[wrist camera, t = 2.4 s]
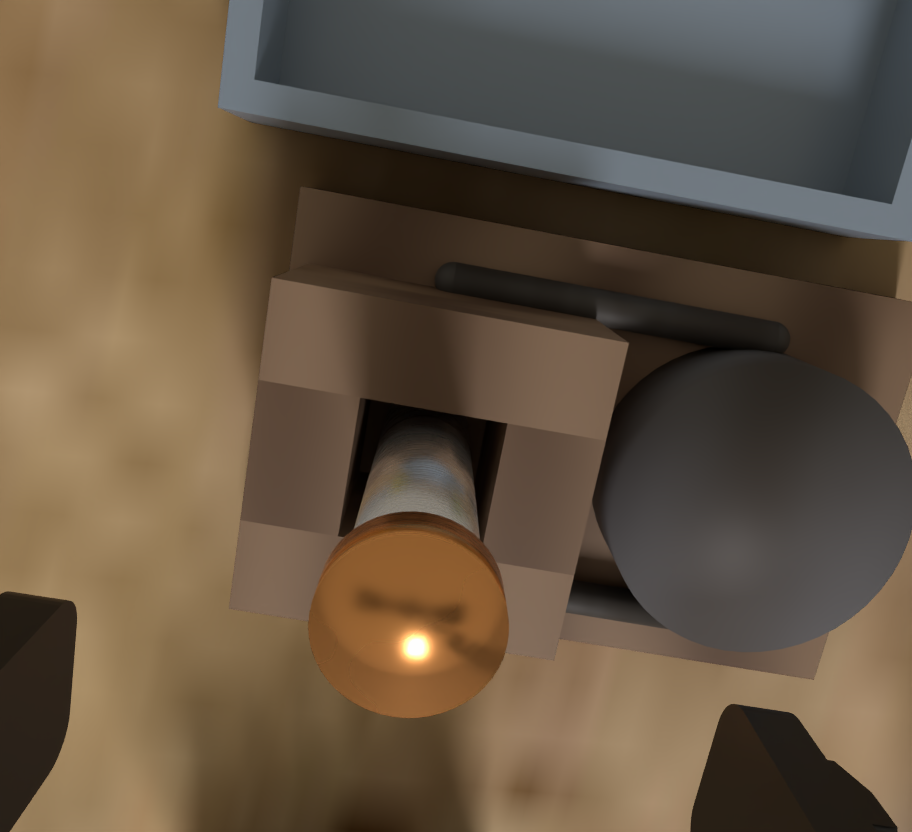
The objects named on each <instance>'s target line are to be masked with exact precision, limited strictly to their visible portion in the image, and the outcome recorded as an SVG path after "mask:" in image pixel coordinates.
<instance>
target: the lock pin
mask: <svg viewBox="0 0 912 832" xmlns="http://www.w3.org/2000/svg"><path fill="white" fill-rule="evenodd" d="M308 630H309V640H310V645H311V649H312V652H313V655H314V658H315V660H316V662H317V664H318V666H319V668H320V670H321V672H322V673H323V674H324V676H325V677H326V679H327V680H328V681H329V682H330V683H331V684H332V686H333V687H334V688H335V689H336V690H337V691H339V692H340V693H341V694H342V695H343V696H345V697H346V698H347V699H349V700H350V701H352V702H354V703H355V704H357V705H359V706H361V707H363V708H365V709H367V710H370V711H373V712H375V713H378V714H382V715H387V716H391V717H401V718H419V717H427V716H432V715H436V714H440V713H444V712H446V711H449V710H451V709H454V708H456V707H458V706H460V705H462V704H463V703H465V702H467V701H468V700H470V699H471V698H472V697H474V696H475V695H476V694H478V693H479V692H480V691H481V690H482V689H483V688H484V687H485V686H486V685H487V684H488V682H489V681H490V680H491V679H492V678H493V676H494V674H495V673H496V671H497V670H498V668H499V666H500V664H501V662H502V660H503V657H504V654H505V651H506V648H507V643H508V637H509V618H508V611H507V605H506V598H505V592H504V586H503V580H502V576H501V573H500V570H499V567H498V565H497V563H496V561H495V559H494V557H493V556H492V554H491V552H490V551H489V549H488V548H487V547H486V546H485V545H484V543H483V542H482V541H481V540H480V535H479V526H478V517H477V507H476V498H475V489H474V479H473V470H472V461H471V452H470V442H469V433H468V424H467V417H466V416H462V415H456V414H451V413H445V412H439V411H434V410H428V409H422V408H417V407H411V406H405V405H399V404H394V403H392V404H391V405H390V407H389V409H388V412H387V414H386V418H385V421H384V425H383V428H382V432H381V435H380V439H379V442H378V446H377V449H376V453H375V456H374V460H373V463H372V467H371V470H370V474H369V477H368V481H367V484H366V488H365V491H364V495H363V498H362V502H361V505H360V509H359V512H358V516H357V520H356V523H355V527H354V530H352V531H351V532H350V533H348V534H347V535H346V536H345V537H344V538H343V539H342V540H341V541H340V542H339V543H338V544H337V546H336V547H335V548H334V550H333V551H332V552H331V554H330V556H329V557H328V559H327V561H326V563H325V566H324V568H323V571H322V573H321V576H320V579H319V582H318V585H317V588H316V591H315V594H314V597H313V600H312V603H311V608H310V612H309V622H308Z"/></svg>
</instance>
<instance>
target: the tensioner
mask: <svg viewBox="0 0 912 832" xmlns="http://www.w3.org/2000/svg"><path fill="white" fill-rule="evenodd" d="M911 375H912V302H911V301H906V300H901V299H895V298H890V297H885V296H880V295H874V294H869V293H864V292H858V291H853V290H848V289H843V288H837V287H832V286H827V285H821V284H816V283H811V282H806V281H800V280H795V279H790V278H784V277H779V276H774V275H769V274H763V273H758V272H753V271H747V270H742V269H737V268H732V267H726V266H721V265H716V264H710V263H705V262H700V261H695V260H689V259H684V258H679V257H673V256H668V255H663V254H658V253H652V252H647V251H642V250H636V249H631V248H626V247H621V246H615V245H610V244H605V243H599V242H594V241H589V240H584V239H578V238H573V237H568V236H562V235H557V234H552V233H546V232H541V231H536V230H531V229H525V228H520V227H515V226H509V225H504V224H499V223H494V222H488V221H483V220H478V219H472V218H467V217H462V216H457V215H451V214H446V213H441V212H435V211H430V210H425V209H420V208H414V207H409V206H404V205H398V204H393V203H388V202H383V201H377V200H372V199H367V198H361V197H356V196H351V195H346V194H340V193H335V192H330V191H324V190H319V189H314V188H308V187H302V186H300V193H299V200H298V208H297V215H296V223H295V230H294V238H293V245H292V253H291V260H290V268H289V271H288V272H285V273H283V274H280V275H277V276H275V277H272V279H271V287H270V295H269V302H268V310H267V318H266V326H265V333H264V341H263V349H262V357H261V364H260V372H259V380H258V388H257V395H256V403H255V411H254V419H253V426H252V434H251V442H250V450H249V457H248V465H247V473H246V481H245V488H244V496H243V504H242V512H241V519H240V527H239V535H238V542H237V550H236V558H235V566H234V573H233V581H232V589H231V597H230V604H229V609H234V610H240V611H246V612H253V613H259V614H265V615H272V616H278V617H284V618H290V619H297V620H303V621H309V612H310V608H311V603H312V600H313V597H314V594H315V591H316V588H317V585H318V582H319V579H320V576H321V573H322V571H323V568H324V566H325V563H326V561H327V559H328V557H329V556H330V554H331V552H332V551H333V550H334V548H335V547H336V546H337V544H338V543H339V542H340V541H341V540H342V539H343V538H344V537H345V536H346V535H347V534H348V533H350V532H351V531H352V530H354V527H355V523H356V520H357V516H358V512H359V509H360V505H361V502H362V498H363V495H364V491H365V488H366V484H367V481H368V477H369V474H370V470H371V467H372V463H373V460H374V456H375V453H376V449H377V446H378V442H379V439H380V435H381V432H382V428H383V425H384V421H385V418H386V414H387V412H388V409H389V407H390V405H391V404H392V403H394V404H399V405H405V406H411V407H417V408H422V409H428V410H434V411H439V412H445V413H451V414H456V415H462V416H466V417H467V424H468V433H469V442H470V452H471V461H472V470H473V479H474V489H475V498H476V507H477V517H478V526H479V535H480V540H481V541H482V542H483V543H484V545H485V546H486V547H487V548H488V549H489V551H490V552H491V554H492V556H493V557H494V559H495V561H496V563H497V565H498V567H499V570H500V573H501V576H502V580H503V586H504V592H505V598H506V605H507V611H508V618H509V637H508V643H507V648H506V651H505V653H510V654H516V655H522V656H529V657H535V658H541V659H547V660H554V659H555V655H556V650H557V646H558V642H559V639H564V640H570V641H576V642H582V643H589V644H595V645H601V646H607V647H613V648H620V649H626V650H632V651H638V652H644V653H651V654H657V655H663V656H669V657H675V658H682V659H688V660H694V661H700V662H707V663H713V664H719V665H725V666H731V667H738V668H744V669H750V670H756V671H762V672H769V673H775V674H781V675H787V676H793V677H800V678H806V679H812V680H814V677H815V674H816V671H817V668H818V665H819V662H820V659H821V656H822V652H823V649H824V646H825V643H826V640H827V637H828V634H829V631H831V630H833V629H835V628H837V627H838V626H840V625H841V624H843V623H844V622H846V621H847V620H849V619H850V618H852V617H853V616H854V615H855V614H856V613H858V612H859V611H860V610H861V609H862V608H864V607H865V606H866V605H867V604H868V603H869V602H870V601H871V600H872V599H873V598H874V597H875V595H876V594H877V593H878V592H879V591H880V590H881V589H882V587H883V586H884V585H885V583H886V582H887V581H888V579H889V578H890V577H891V575H892V574H893V572H894V570H895V568H896V567H897V565H898V563H899V561H900V559H901V558H902V555H903V553H904V550H905V548H906V546H907V543H908V541H909V538H910V534H911V530H912V459H911V456H910V453H909V449H908V446H907V444H906V442H905V440H904V438H903V436H902V434H901V432H900V430H899V428H898V427H897V425H896V422H897V419H898V416H899V413H900V410H901V406H902V403H903V400H904V397H905V394H906V391H907V388H908V385H909V382H910V378H911Z"/></svg>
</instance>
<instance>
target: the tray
mask: <svg viewBox="0 0 912 832" xmlns="http://www.w3.org/2000/svg"><path fill="white" fill-rule="evenodd" d="M218 108H221V109H223V110H225V111H227V112H229V113H232V114H234V115H236V116H238V117H240V118H243V119H245V120H247V121H249V122H253V123H258V124H263V125H268V126H274V127H279V128H284V129H289V130H294V131H299V132H305V133H310V134H315V135H320V136H325V137H331V138H336V139H341V140H346V141H351V142H357V143H362V144H367V145H372V146H377V147H382V148H388V149H393V150H398V151H403V152H408V153H414V154H419V155H424V156H429V157H434V158H440V159H445V160H450V161H455V162H460V163H465V164H471V165H476V166H481V167H486V168H491V169H497V170H502V171H507V172H512V173H517V174H522V175H528V176H533V177H538V178H543V179H548V180H554V181H559V182H564V183H569V184H574V185H580V186H585V187H590V188H595V189H600V190H605V191H611V192H616V193H621V194H626V195H631V196H637V197H642V198H647V199H652V200H657V201H662V202H668V203H673V204H678V205H683V206H688V207H694V208H699V209H704V210H709V211H714V212H720V213H725V214H730V215H735V216H740V217H745V218H751V219H756V220H761V221H766V222H771V223H777V224H782V225H787V226H792V227H797V228H802V229H808V230H813V231H818V232H823V233H828V234H834V235H839V236H844V237H851V238H866V239H882V240H897V241H912V0H229V10H228V19H227V28H226V37H225V47H224V56H223V65H222V74H221V83H220V93H219V102H218Z"/></svg>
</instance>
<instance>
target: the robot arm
mask: <svg viewBox="0 0 912 832" xmlns="http://www.w3.org/2000/svg"><path fill="white" fill-rule="evenodd" d="M76 627H77V611H76V607H75V604H74V603H73V602H72V601H68V600H62V599H55V598H49V597H42V596H35V595H29V594H22V593H16V592H4V593H2V594H1V595H0V832H10V830H11V829H12V827H13V826H14V824H15V823H16V822H17V820H18V819H19V817H20V816H21V814H22V813H23V811H24V810H25V808H26V807H27V805H28V804H29V803H30V801H31V800H32V798H33V797H34V795H35V794H36V792H37V791H38V789H39V788H40V786H41V785H42V783H43V782H44V781H45V779H46V778H47V776H48V775H49V773H50V771H51V770H52V768H53V766H54V764H55V762H56V760H57V758H58V756H59V753H60V751H61V748H62V745H63V742H64V739H65V735H66V731H67V727H68V722H69V715H70V704H71V691H72V678H73V665H74V652H75V640H76ZM690 832H897V826H896V825H895V823H894V822H893V821H892V819H891V818H890V817H889V815H888V814H887V813H886V811H885V810H884V809H883V807H882V806H881V804H880V803H879V802H878V800H877V799H876V798H875V796H874V795H873V794H872V793H871V792H870V791H869V790H868V789H867V788H866V787H864V786H863V785H862V784H861V783H860V782H858V781H857V780H856V779H855V778H854V777H852V776H851V775H850V774H849V773H848V772H847V771H845V770H844V769H843V768H842V767H841V766H839V765H838V764H837V763H836V762H835V761H830V760H827V759H826V758H825V756H824V755H823V753H822V752H821V751H820V749H819V748H818V746H817V745H816V743H815V742H814V741H813V739H812V738H811V736H810V735H809V733H808V732H807V730H806V729H805V728H804V726H803V725H802V723H801V722H800V720H799V719H798V718H797V717H796V716H795V715H794V714H792V713H789V712H783V711H776V710H770V709H763V708H757V707H750V706H744V705H737V704H731V705H729V706H727V707H726V708H725V710H724V711H723V713H722V715H721V717H720V719H719V722H718V725H717V729H716V732H715V735H714V739H713V742H712V746H711V749H710V752H709V756H708V759H707V762H706V766H705V769H704V772H703V776H702V779H701V782H700V786H699V789H698V793H697V796H696V799H695V803H694V806H693V810H692V816H691V831H690Z"/></svg>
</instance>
